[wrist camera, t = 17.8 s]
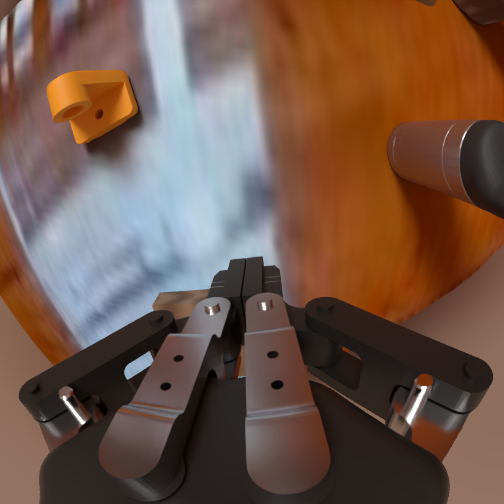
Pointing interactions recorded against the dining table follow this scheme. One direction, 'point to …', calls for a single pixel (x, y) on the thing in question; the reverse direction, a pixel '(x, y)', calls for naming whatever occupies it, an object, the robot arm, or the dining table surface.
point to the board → (187, 309)
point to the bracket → (92, 101)
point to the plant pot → (483, 10)
